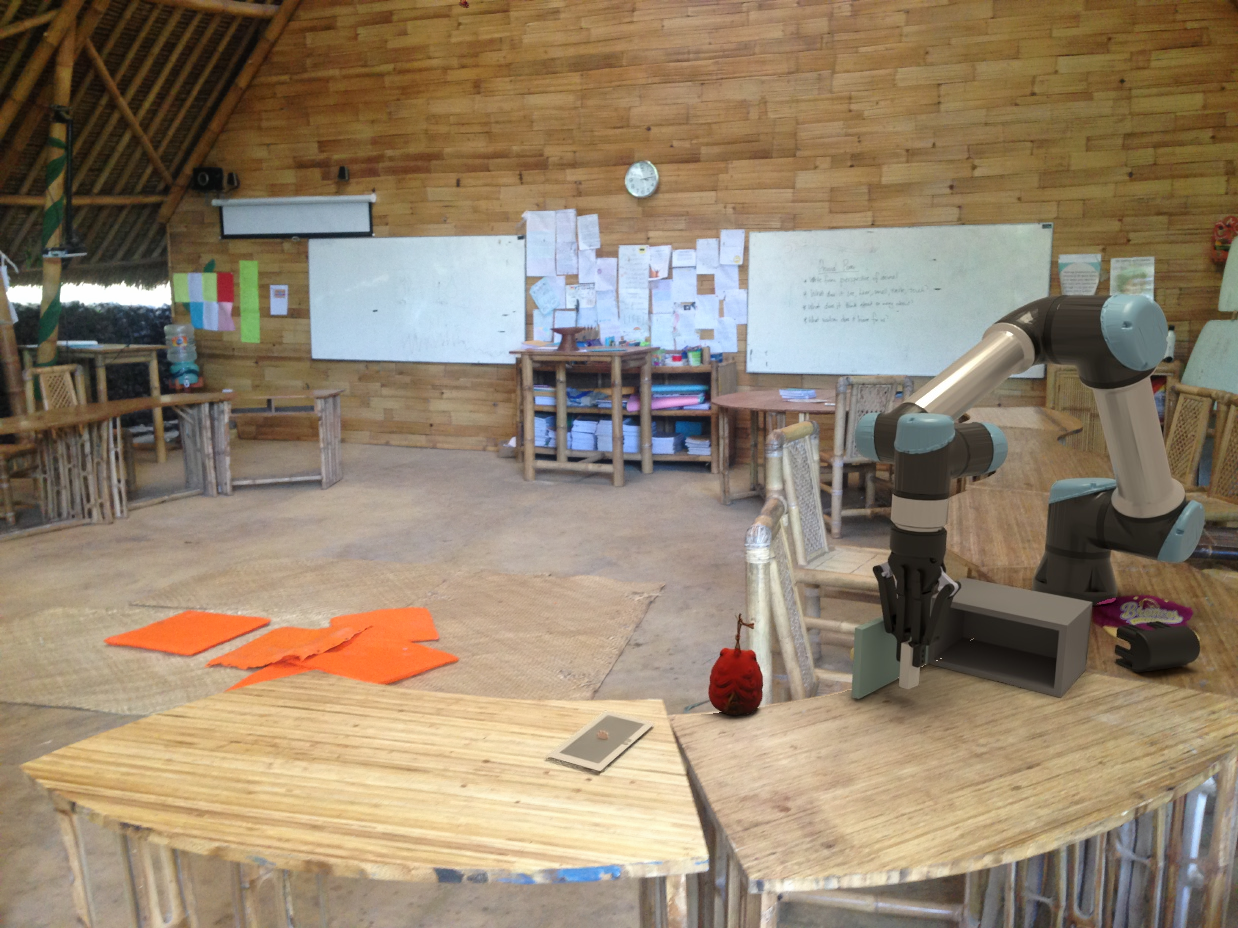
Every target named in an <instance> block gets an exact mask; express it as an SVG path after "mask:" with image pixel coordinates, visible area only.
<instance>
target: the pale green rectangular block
mask: <svg viewBox="0 0 1238 928" xmlns="http://www.w3.org/2000/svg"><path fill="white" fill-rule="evenodd" d="M931 607H932V599H931ZM930 616H931V608H930ZM911 638H912V637H910V640H911ZM896 649H897V639H896V637H895V636H894V635H892V634H891V633H890V634H889V633H887V632H886V631H885V627H884V620H883V615H882V616H879V617H877V618H874V619H872V620H870V621H866V622H865V623H863V624H860V625H858V626H856V627H854V640H853V647H852V648H851V650H850V653H849V658H850V661H852V662H853V663H852V679H851V680H852V681H851V697H852V698H854V699H858V700H860V699H862V698H863V697H865V696H867V695H869V694H871V693H874V692H875V691H877V690H879V689H881V688H883V687H884V686H887V685H889V684H890V683H892V682H894V681H896V680H899V678H898V677H900V662H899V661H897V659H896V651H897V650H896ZM928 653H929V646H927V645H926V657H925V664H924V666H925V665H928V664H927V663H928ZM921 667H923V666H921ZM921 667H920V668H921Z"/></svg>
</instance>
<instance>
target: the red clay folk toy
mask: <svg viewBox="0 0 1238 928" xmlns="http://www.w3.org/2000/svg"><path fill="white" fill-rule="evenodd" d="M734 616H735V618H736V621H737V623H736V624H737V625H736V632H737V633H736V634H735V635H734V639H735V640H736V643H735V644H734V648H729V647H723V648H722V649H721V650H720V651H719V657H718V658H717V659H716V661H715V663H714V664H713V666H712V667H711V670H710V675H709V685H708V691H707V692H708V699H709V702H710V703H711V705H712V706H713V707H714V709H716V710H717V711H718V712H721V713H723V714H726V715H730V716H745V715H748V714H751V713H753V712H755V711H757V710H758V709H759V707H760V705H761V703H762V701H763V695H764V694H763V688H764V676H763V675H764V674H763V672H762V670H761V666H760V664H759V663H758V660H757V654H756V652H755V651H754V650H752V649H748V650H745V649H742V648H741V644H740V639H741V629H742V626H744V627H747V628H749V629H751V630H755V622H750V623H748V622H744V621H743V618H742V613H739V614H738V615H736V614H734ZM737 616H738V617H737Z"/></svg>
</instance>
